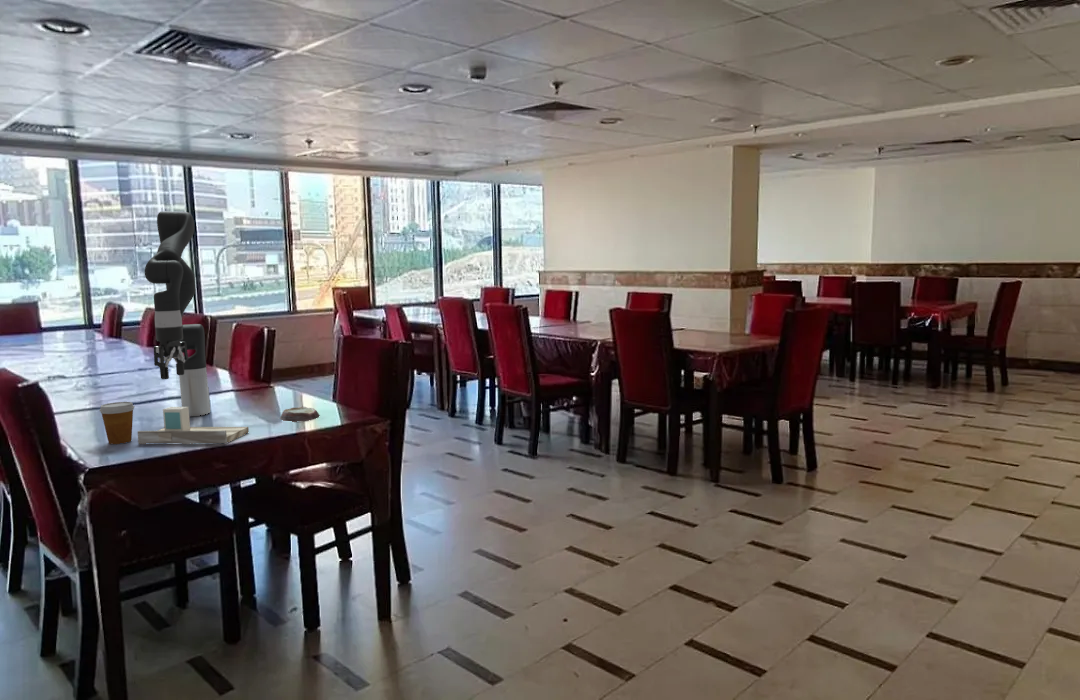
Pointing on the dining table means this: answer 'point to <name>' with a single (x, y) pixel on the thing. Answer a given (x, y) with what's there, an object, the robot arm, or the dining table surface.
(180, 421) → the carton
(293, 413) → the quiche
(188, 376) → the robot arm
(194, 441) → the cream rectangular tray
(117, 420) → the disposable coffee cup
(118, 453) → the dining table surface
